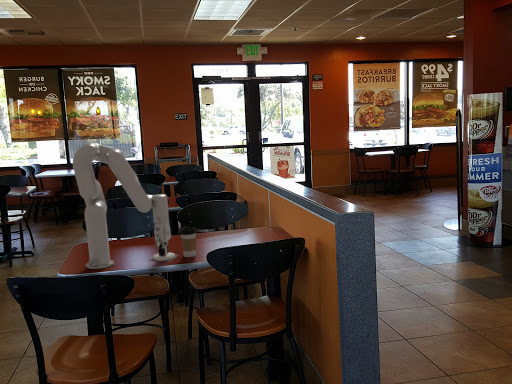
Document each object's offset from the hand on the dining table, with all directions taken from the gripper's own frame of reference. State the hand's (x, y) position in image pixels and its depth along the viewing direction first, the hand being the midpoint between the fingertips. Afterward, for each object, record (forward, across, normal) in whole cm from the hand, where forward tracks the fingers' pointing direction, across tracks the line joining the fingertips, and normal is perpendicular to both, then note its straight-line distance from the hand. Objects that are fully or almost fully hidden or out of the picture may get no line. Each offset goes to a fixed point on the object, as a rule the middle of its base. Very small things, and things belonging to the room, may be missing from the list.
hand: (163, 254), depth 240 cm
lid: (+2, 0, 0) cm, 2 cm away
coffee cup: (+3, +5, -12) cm, 13 cm away
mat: (+2, 0, 0) cm, 2 cm away
